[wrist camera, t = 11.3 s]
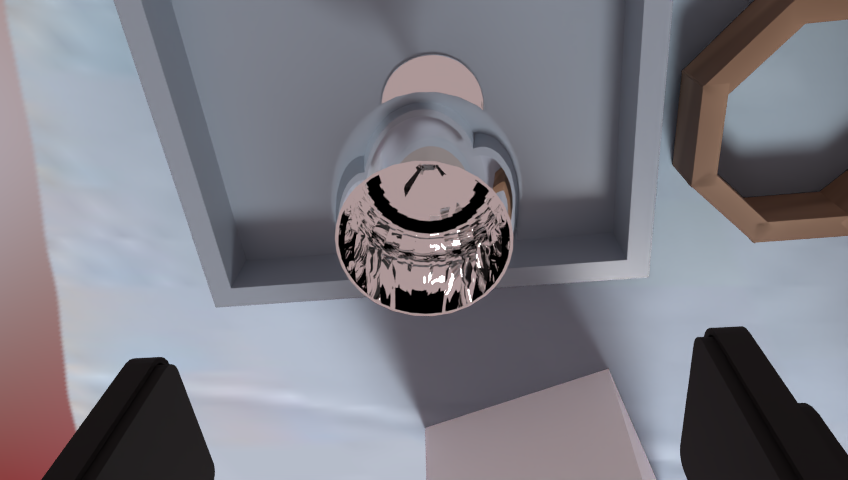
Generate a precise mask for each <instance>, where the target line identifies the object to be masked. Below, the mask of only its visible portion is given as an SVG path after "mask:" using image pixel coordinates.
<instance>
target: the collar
mask: <svg viewBox="0 0 848 480" xmlns="http://www.w3.org/2000/svg"><path fill="white" fill-rule="evenodd" d="M846 19H848V0H754V1H753V2H752V3H751V4H750V5H749V6H748V7H747V8H746V9H745V10H744V11H743V12H742V13H741V14H740V15H739V16H738V17H737V18H736V19H735V20H734V21H733V22H732V23H731V24H730V25H729V26H728V27H727V28H725V29H724V30H723V31H722V32H721V33H720V34H719V35H718V36H717V37H716V38H715V39H714V40H713V41H712V42H711V43H710V44H709V45H708V46H707V47H706V48H705V49H704V50H703V51H702V52H701V53H700V54H699V55H698V56H697V57H696V58H695V59H694V60H693V61H692V62H691V63H690V64H689V65H688V66H687V67H686V68H684V69H683V70H682V71H681V72H682V76H681V86H680V96H679V105H678V115H677V125H676V135H675V145H674V155H673V163H672V164H673V166H674V167H675V168H676V170H677V171H678V172H679V173H680V174H681V176H682V177H683V178H684V179H685V180H686V182H687V183H688V184H689V185H690V186H691V187H693V188H694V189H695V190H696V191H697V192H698V193H699V194H701V195H702V196H703V197H704V198H705V199H706V200H707V201H708V202H709V203H711V204H712V205H713V206H714V207H715V208H716V209H717V210H718V211H719V212H721V213H722V214H723V215H724V216H725V217H726V218H727V219H728V220H730V221H731V222H732V223H733V224H734V225H735V226H736V227H737V228H738V229H740V230H741V231H742V232H743V233H744V234H745V235H746V236H747V237H748V238H749V239H750V240H751V241H752V242H753V243H755V242H769V241H782V240H796V239H810V238H823V237H837V236H848V170H847V171H845V172H844V173H843V174H841V175H840V176H839V177H838V178H836V179H835V180H834V181H833V182H831V183H830V184H829V185H828V186H826V187H825V188H824V189H822V190H821V191H820V192H809V193H797V194H784V195H771V196H759V197H746V198H743V197H742V196H741V195H740V194H739V193H738V192H737V191H735V190H734V189H733V188H732V187H731V186H730V185H729V184H728V183H727V182H726V181H725V180H724V179H722V178H721V177H720V176H719V175H718V174H717V171H718V164H719V157H720V150H721V142H722V135H723V128H724V121H725V114H726V107H727V99H728V94H729V93H731V92H732V91H733V90H734V89H735V88H736V87H737V86H738V85H739V84H740V83H741V82H743V81H744V80H745V79H746V78H747V77H748V76H749V75H750V74H751V73H752V72H753V71H754V70H756V69H757V68H758V67H759V66H760V65H761V64H762V63H763V62H764V61H765V60H766V59H767V58H769V57H770V56H771V55H772V54H773V53H774V52H775V51H776V50H777V49H778V48H779V47H781V46H782V45H783V44H784V43H785V42H786V41H787V40H788V39H789V38H790V37H791V36H792V35H794V34H795V33H796V32H797V31H798V30H799V29H800V28H801V27H802V26H803V25H804V24H806V23H816V22H826V21H836V20H846Z"/></svg>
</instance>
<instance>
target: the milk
mask: <svg viewBox="0 0 848 480" xmlns="http://www.w3.org/2000/svg"><path fill="white" fill-rule="evenodd" d="M425 445H426V480H657V479H656V477H655V475H654V473H653V470H652V468H651V466H650V463H649V461H648V459H647V456H646V454H645V452H644V449H643V447H642V445H641V443H640V440H639V438H638V436H637V433H636V431H635V429H634V426H633V424H632V422H631V419H630V417H629V415H628V413H627V410H626V408H625V406H624V403H623V401H622V399H621V396H620V394H619V392H618V389H617V387H616V385H615V383H614V380H613V378H612V376H611V373H610V371H609V369H606V370H603V371H599V372H596V373H593V374H590V375H587V376H584V377H581V378H578V379H575V380H572V381H569V382H565V383H562V384H559V385H556V386H553V387H550V388H547V389H544V390H541V391H538V392H534V393H531V394H528V395H525V396H522V397H519V398H516V399H513V400H510V401H507V402H504V403H500V404H497V405H494V406H491V407H488V408H485V409H482V410H479V411H476V412H473V413H469V414H466V415H463V416H460V417H457V418H454V419H451V420H448V421H445V422H442V423H438V424H435V425H432V426H429V427H426V428H425Z"/></svg>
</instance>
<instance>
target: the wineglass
mask: <svg viewBox="0 0 848 480" xmlns="http://www.w3.org/2000/svg"><path fill="white" fill-rule="evenodd" d="M522 207H523V185H522V176H521V171H520V166H519V162H518V158H517V156H516V153H515V151H514V148H513V146H512V144H511V142H510V141H509V139H508V137H507V136H506V134H505V133H504V131H503V129H502V128H501V127H500V126H499V125H498V124H497V123H496V121H495V120H494V119H493V118H492V117H491V116H490V115H489V114H487V113H486V112H485V111H484V95H483V92H482V88H481V85H480V83H479V81H478V79H477V78H476V76H475V75H474V73H473V72H472V71H471V70H470V69H469V68H468V67H467V66H466V65H464V64H463V63H461V62H460V61H459V60H457V59H454V58H452V57H449V56H446V55H441V54H424V55H419V56H416V57H413V58H410V59H408V60H407V61H405V62H403V63H402V64H401V65H399V66H398V67H397V68H396V69H395V70H394V71H393V73H392V74H391V75H390V77H389V78H388V80H387V81H386V84H385V87H384V89H383V92H382V98H381V104H380V105H379V106H377V107H376V108H374V109H373V110H372V111H371V112H370V113H369V114H367V115H366V116H365V117H364V118H363V119H362V120H361V121H360V122H359V123H358V124H357V125H356V126H355V128H354V129H353V130H352V131H351V133H350V134H349V135H348V137H347V139H346V140H345V142H344V144H343V146H342V148H341V150H340V153H339V155H338V158H337V161H336V164H335V168H334V171H333V178H332V184H331V195H330V213H331V223H332V232H333V238H334V243H335V248H336V252H337V255H338V258H339V261H340V264H341V267H342V268H343V270H344V272H345V273H346V275H347V277H348V278H349V280H350V281H351V282H352V283H353V284H354V285H355V287H356V288H357V289H358V290H359V291H360V292H361V293H362V294H364V295H365V296H366V297H368V298H369V299H371V300H372V301H373V302H375V303H377V304H379V305H381V306H383V307H385V308H388V309H390V310H392V311H395V312H400V313H404V314H409V315H413V316H436V315H442V314H449V313H453V312H455V311H458V310H461V309H464V308H466V307H469V306H471V305H472V304H474V303H475V302H477V301H478V300H480V299H482V298H483V297H485V296H486V295H487V294H488V293H489V292H491V291H492V290H493V289H494V287H495V286H496V285H497V284H498V283H499V281H500V280H501V278H502V277H503V275H504V274H505V272H506V270H507V267H508V265H509V263H510V260H511V257H512V253H513V250H514V247H515V244H516V240H517V236H518V232H519V228H520V224H521V218H522Z"/></svg>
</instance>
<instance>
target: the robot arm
mask: <svg viewBox="0 0 848 480" xmlns="http://www.w3.org/2000/svg"><path fill="white" fill-rule="evenodd" d="M680 456H681V462H682V466H683V469H684V472H685V475H686V477H687V480H848V455H847V453H846V452H845V450H844V449H843V448H842V446H841V445H840V443H839V442H838V441H837V439H836V438H835V436H834V435H833V434H832V432H831V431H830V429H829V428H828V426H827V425H826V424H825V422H824V421H823V419H822V418H821V417H820V415H819V414H818V413H817V412H816V411H815V409H814V408H813V407H812V406H810V405H808V404H806V403H797V401H796V400H795V398H794V397H793V395H792V394H791V392H790V391H789V390H788V388H787V387H786V385H785V384H784V382H783V381H782V379H781V378H780V376H779V375H778V373H777V372H776V371H775V369H774V368H773V366H772V365H771V363H770V362H769V360H768V359H767V357H766V356H765V354H764V353H763V351H762V350H761V349H760V347H759V346H758V344H757V343H756V341H755V340H754V338H753V337H752V335H751V334H750V332H749V331H748V330H747V329H746V328H745V327H742V326H741V327H722V328H709V329H707V330H706V332H705V335H704V337H697V338H696V339H695V341H694V347H693V354H692V362H691V369H690V377H689V384H688V392H687V399H686V407H685V414H684V422H683V429H682V437H681V445H680ZM214 475H215V469H214V463H213V461H212V458H211V455H210V453H209V450H208V448H207V445H206V442H205V440H204V437H203V434H202V432H201V429H200V427H199V424H198V421H197V419H196V416H195V414H194V411H193V408H192V406H191V403H190V400H189V398H188V395H187V393H186V390H185V387H184V385H183V382H182V379H181V377H180V374H179V372H178V369H177V368H176V366H175V365H172V364H169V363H168V361H167V360H166V359H165V358H162V357H153V358H134V359H131V360H129V361H128V362H127V363H126V364H125V365H124V367H123V368H122V369H121V371H120V372H119V374H118V375H117V376H116V378H115V379H114V380H113V382H112V383H111V385H110V386H109V387H108V389H107V390H106V391H105V393H104V394H103V396H102V397H101V398H100V400H99V401H98V402H97V404H96V405H95V407H94V408H93V409H92V411H91V412H90V413H89V415H88V416H87V418H86V419H85V420H84V422H83V423H82V424H81V426H80V427H79V429H78V430H77V431H76V433H75V434H74V436H73V437H72V438H71V440H70V441H69V443H68V444H67V445H66V447H65V448H64V449H63V451H62V452H61V453H60V455H59V456H58V458H57V459H56V460H55V462H54V463H53V465H52V466H51V467H50V469H49V470H48V471H47V473H46V474H45V475H44V477H43V478H42V480H214Z"/></svg>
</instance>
